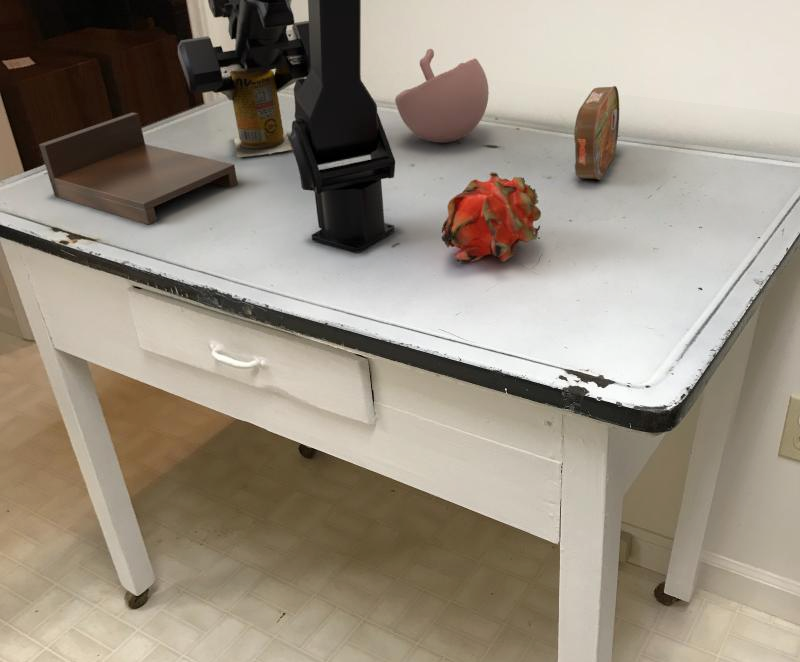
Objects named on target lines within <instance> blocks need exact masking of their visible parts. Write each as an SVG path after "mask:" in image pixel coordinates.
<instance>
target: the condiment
mask: <svg viewBox="0 0 800 662" xmlns="http://www.w3.org/2000/svg"><path fill="white" fill-rule="evenodd" d="M274 74H275V71H273V69H272V70H266V71H260V72H254V73H248V74H247V72H246V70H244V71H238V72H232V74H231V76H232V79H233V82H234V85H235V96H234V99H233V100H231V101H232V106H233V111H234V117H235V121H236V123H235V124H236V127H237V132H238V137H234V138H233V141H234V147H235V153H236V157H237V158H242V157H245V158H246V157H254V156H261V155H272V154H274V153H282V152H286V151H291V150H292V151H293V149H292V145H291V142H290V139H289V137H288V134H287V132H286V130H284V126H283V120H282V114H281V109H280V101H279V96H278V92H277V89H276V83H275V75H274Z"/></svg>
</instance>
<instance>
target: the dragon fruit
mask: <svg viewBox="0 0 800 662" xmlns="http://www.w3.org/2000/svg"><path fill="white" fill-rule="evenodd" d="M489 176H490V177H489V179H488V180H486V181H480V180H478V179H473V180H471V181H470V182H469V183H468V184H467V186H466V187H465V188H464V190H462V191H461V192H460V193H459V194H456V195H455V196H453V197H452V198H451V199H449V201H448V203H447V211H448V213H447V214H448V216H447V218H446V219H445V221H444V222H443V225H442V228H441V229H442V230H441V234H442V233H443V234H442V236H441V240H442V242H444V245H445V247H447V249H449V247H451V248H457V249H459V250H458V251H457V252H455V253H454V255H453V256H454V258H455V261H456V262H457V263H459V262H461V261H463V262H464V261H467V262H470V263H471V262H472V263H473V262H475V261H479V260H481V259H482V258H484V257H485V256H488V255H491V256H495V257H498V258H499V261H500V262H502V263H504V262H506V261H508V259H511V258H512V257H514V255H516V253H517V249H516V248H517V247H518V245H519V243H520V242H524V243H530V242H532V241H535V240H537V238H538V235H539V231H540V229H541V225H538V227H534V222H536V221H539V220H540V219H541V215H542V212H541V210H540V208H539V207H538V206H536V205H538V203H539V200H538V198H539V196H538V193H537V192H536V189H535V188H532V187H531V185H529V184H527V183H526V180H525V178H524V177H521V176H514V177H513V178H512V179H511V180H510V179H508V178H501V177H500V176H499V174H498V173H497V172H494V171H491V172H490V173H489Z"/></svg>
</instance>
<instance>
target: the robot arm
mask: <svg viewBox="0 0 800 662" xmlns="http://www.w3.org/2000/svg"><path fill="white" fill-rule="evenodd" d="M207 2H208V7H209V10H210V12H211V14H212V16H213V18H215V19H217V18H224V19H225V18H226V19H228V28H227V29H228V31H227V32H228V34H229V37H230V40H235V44H234V49H232V50H226V51H224V50H223V46H222V45H217V46H214V45H213V43H212V39H211V38H210V36H208V35H207V36H201V37H195V38H188V39H181V40H180V41H179V43H178V45H177V56H178V59H179V62H180V66H181V68H182V71H183V75H184V78H185V79H186V83H187V87H188V90H189V92H191V93H193V94H194V95H199V94H205V93H211V92H212V93H215V94H218V93H221V94H223V95H224V96H225V97H226V98H227V99H228V100H229V101H232V100H233V99H234V96H235V85H234V82H233V79H232V76H231V74H232V72H238V71H244V70H246V72H247V74H248V73H254V72H260V71H266V70H272V71H273V70H275V71H274V75H275V83H276V89H277V93H279V92H282V91H283V90H284V89H286V88H288V87H290V86H292V85H293V84H294V86H293V96H294V97H293V98H294V119H295V120H293V121H292V123H291V132H290V137H289V142H290V145H291V147H292V151H293V156H294V158H295V162H296V165H297V169H298V173H299V178H300V186H301V189H302V190H304V191H312V192H313V193H314V199H315V207H316V217H317V224H318V228H319V230H318V231H317V230H316V232H313V233H312V234H311V235H310V236H311V240H312V241H314V242H318V243H321V244H325V245H328V246H332V247H336V248H340V249H343V250H347V251H350V252H353V253H354V252H355V253H357V252H361V251H363V250H364V249H366V248H368V247H370V246H371V245H373V244H374V243H376V242H378V241H381V239H383V238H384V237H386V236H388V235H390V234H391V233H394V231H395V225H393V224H391V223H386V222H385V212H384V199H383V185H382V180H384V179H393V178H395V172H396V171H395V170H396V159H395V156H394V154H393V151H392V148H391V145H390V143H389V140H388V138H387V135H386V132H385V129H384V127H383V124H382V123H383V122H382V120H381V118H380V116H379V113H378V105H377V103H376V101H375V100H374V98H373V97H372V95H371V93H370V92H369V90H368V89H367V87H366V85H365V84H364V82H363V81H362V77H361V71H362V70H361V66H362V65H361V64H362V63H361V60H362V59H361V56H362V55H361V51H362V50H361V49H362V48H361V45H362V44H361V40H362V39H361V38H362V37H361V36H362V35H361V34H362V33H361V32H362V31H361V29H362V27H361V24H362V22H361V21H362V19H361V18H362V17H361V13H362V11H361V9H362V7H361V6H362V5H361V2H362V1H361V0H307V9H308V10H307V11H308V12H307V13H308V20H304V21H299V22H297V21H296V22H295V16H294V12H293V10H292V7H291V6H292V2H293V1H292V0H207ZM288 26H292V27H291V29H290V30H289V29H288ZM366 156H370V159H366V160H365V159H364V160H361V161H356V162H350V163H346V164H340V165H337V166H331V167H328V168H322V169H319V166H322V165H327V164H332V163H337V162H341V161H342V162H343V161H346V160H351V159H356V158H361V157H366Z"/></svg>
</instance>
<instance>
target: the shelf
mask: <svg viewBox="0 0 800 662" xmlns="http://www.w3.org/2000/svg"><path fill="white" fill-rule="evenodd" d="M145 141H146V140H145V138H144V133H143V129H142V125H141V121H140V116H139V113H137V112H129V113H126V114H123V115H120V116H118V117H115V118H112V119H109V120H106V121H103V122H100V123H97V124H94V125H92V126H89V127H86V128H83V129H80V130H77V131H73V132H71V133H68V134H66V135H62V136H59V137H57V138H53V139H51V140H47V141H45V142H42V143H39V149H40V152H41V155H42V159H43V162H44V166H45V169H46V171H47V175H48V179H49V182H50V185H51V188H52V191H53V195H54V197H56V198H59V199H63V200H66V201H69V202H73V203H77V204H80V205H82V206H87V207H89V208H92V209H96V210H99V211H102V212H106V213H109V214H112V215H115V216H119V217H122V218H126V219H128V220H132V221H136V222H139V223H142V224H145V225H151V224H153V223H156V222H158V221H157V216H156V215H157V214H156V211H155V207H156V206H158V205H162V204H163V203H166V202H168V201H170V200H173V199H174V198H178V197H179V196H181V195H184V194H185V193H189V192H191V191H193V190H195V189H197V188H200V187H202V186H204V185H206V184H208V183H212V184H216V185H221V186H225V187H228V188H233V187H235V186H237V185H238V184H239V183H238V182H239V181H238V176H237V171H236V166H235V164H234V163H229V162H225V161H221V160H217V159H212V158H207V157H203V156H199V155H195V154H194V155H193V154H190V153H185V152H181V151H176V150H173V149H168V148H163V147H159V146H154V145H150V144H146V142H145Z"/></svg>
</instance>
